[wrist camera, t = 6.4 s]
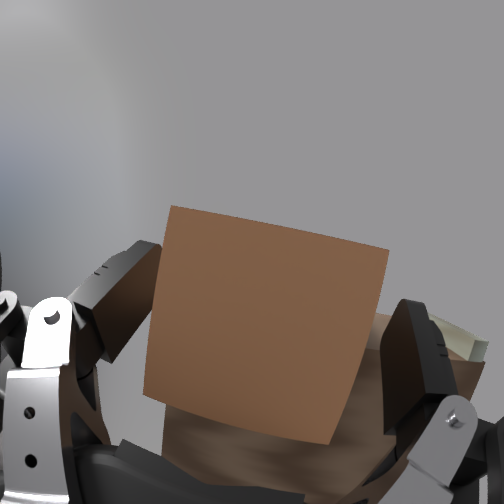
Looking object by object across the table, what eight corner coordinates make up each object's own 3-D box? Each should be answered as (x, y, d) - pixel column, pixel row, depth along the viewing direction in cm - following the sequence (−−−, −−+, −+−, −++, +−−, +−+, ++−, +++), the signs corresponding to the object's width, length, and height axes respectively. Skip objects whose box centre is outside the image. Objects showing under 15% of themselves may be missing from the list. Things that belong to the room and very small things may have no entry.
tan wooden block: (143, 394, 5) (171, 205, 5) (266, 284, 29) (274, 244, 29) (328, 444, 5) (389, 249, 5) (305, 292, 28) (313, 253, 28)
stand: (158, 564, 14) (183, 281, 14) (190, 505, 26) (236, 268, 25) (309, 593, 12) (492, 342, 11) (312, 530, 24) (417, 307, 23)
